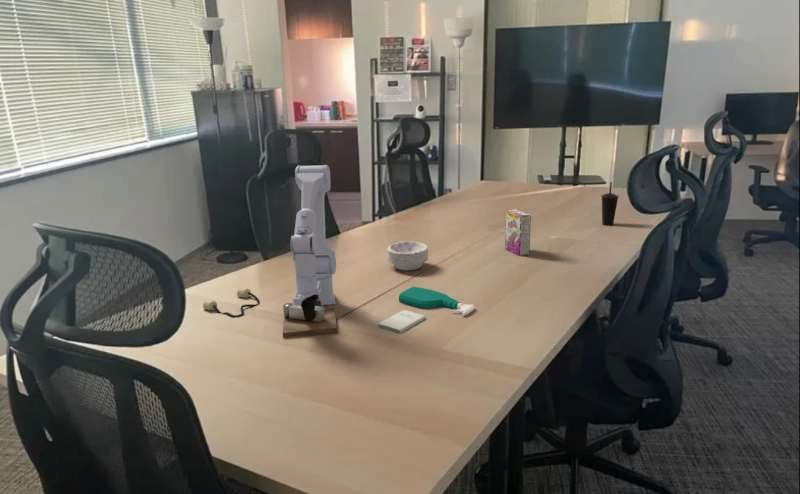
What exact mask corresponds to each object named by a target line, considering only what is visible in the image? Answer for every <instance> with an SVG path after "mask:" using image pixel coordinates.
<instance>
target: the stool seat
mask: <svg viewBox="0 0 800 494" xmlns="http://www.w3.org/2000/svg"><path fill="white" fill-rule="evenodd" d="M316 306H321V307H322V305H321V298H318V300H317V303H316ZM324 313H325V318H324V319H323V320H322V321H321V322H316V321H308V320H300V319H292V318H285V317H284V316H283V326H282V339H285V338H296V337H305V336H306V337H307V336H315V335H326V334H329V335H330V334H337V333H338V329H337V328H338V327H337V319H336V310H335V307H327V308H325V307H324Z"/></svg>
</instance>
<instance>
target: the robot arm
mask: <svg viewBox="0 0 800 494" xmlns="http://www.w3.org/2000/svg"><path fill="white" fill-rule="evenodd" d="M294 180H295V183H296V185H297V188H298V190H300V191H301V192H300V194H301V195H300V197H301V198H300V201H301V203H300V210H299V211H298V212H296V217H295V226H294V234H293V235H291V237H290V240H289V241H290V243H289V245H290V247H289V248H290V251H291V256H292V260H293V261H294V270H295V271H294V273H295V283H296V290H295V295H294V297H293V298H292V300H293V301H292V303H293V304H294V305H299V306H301V307H302V309H303V313H304V318H305V320H308V321H312V320H313V319H314V310H315V306H316V303H317V300H318V298H321V306H329V305H336V299H335V298H336V297H335V292H334V288H333V287H334V286H333V275H334V274H335V273H336V271H337V258H336V252H335V249H333V248H332V247H331V246H329V245H328V244H327V241H326V240H327V239H326V211H325V210H326V209H325V196H326V193H328V192H330V191H331V171H330V166H328V165H327V164H323V165H301V164H300V165H299V164H298V165H297V166H296V167H295V170H294Z"/></svg>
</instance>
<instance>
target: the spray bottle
mask: <svg viewBox="0 0 800 494" xmlns="http://www.w3.org/2000/svg"><path fill="white" fill-rule="evenodd" d="M398 302H400V303H401V304H404V305H409V306H411V307H416V308H419V309H432V308H439V307H445V308H448V309H450V312H452V313H461V316H462V317H465V316H467V315H469V314H471V313H472V312H473V311H475V305H474V304H466V303H462V302H460V301H458V300H456V299H455V298H452V297H450V296H449V295H447V294H446V293H442V292H439V291H437V290H433V289H429V288H425V287H419V286H411V287H409V288H407V289H405V290H404V291H402V292H400V294H399V296H398Z"/></svg>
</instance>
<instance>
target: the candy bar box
mask: <svg viewBox="0 0 800 494" xmlns="http://www.w3.org/2000/svg"><path fill="white" fill-rule="evenodd" d="M531 220H532V215H531V214H529V213H526V212H523V211H521V210H519V209H516V208H515V209H508V210H505V239H504V240H505V241H504V242H505V243H504V245H505V246H504V249H505V250H507V251H509V252H511V253H514V254H515V255H517V256H518V257H519V256H520V257H523V256H527V255H531V253H530V251H531V250H530V249H531V222H532V221H531Z"/></svg>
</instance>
